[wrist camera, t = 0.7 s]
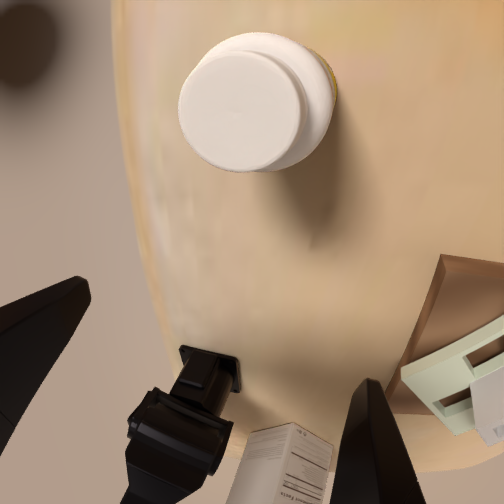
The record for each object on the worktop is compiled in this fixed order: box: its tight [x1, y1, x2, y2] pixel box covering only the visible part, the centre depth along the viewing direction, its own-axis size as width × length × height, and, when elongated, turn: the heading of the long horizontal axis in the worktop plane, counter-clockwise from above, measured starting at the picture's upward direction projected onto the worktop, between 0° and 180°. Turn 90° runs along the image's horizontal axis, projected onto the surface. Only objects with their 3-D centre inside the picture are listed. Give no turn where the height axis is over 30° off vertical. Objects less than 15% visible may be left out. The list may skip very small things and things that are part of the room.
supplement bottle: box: [178, 32, 337, 172], centre depth 13 cm, size 6×6×10 cm
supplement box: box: [226, 423, 333, 504], centre depth 34 cm, size 9×9×15 cm
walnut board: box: [385, 254, 504, 415], centre depth 20 cm, size 18×18×7 cm
